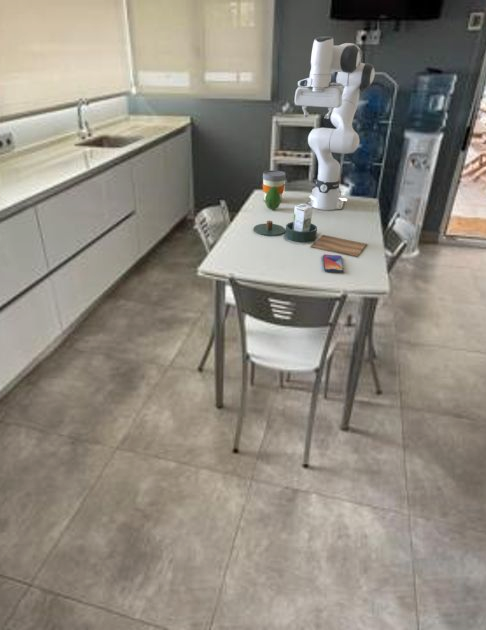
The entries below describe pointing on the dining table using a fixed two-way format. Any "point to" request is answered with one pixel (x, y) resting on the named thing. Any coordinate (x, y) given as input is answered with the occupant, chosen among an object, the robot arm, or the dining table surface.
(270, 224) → the pot lid
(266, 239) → the dining table surface
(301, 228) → the syrup box
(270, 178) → the reusable coffee cup
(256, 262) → the dining table surface
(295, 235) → the pot
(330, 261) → the smartphone
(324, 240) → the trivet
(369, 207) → the dining table surface
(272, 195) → the avocado
